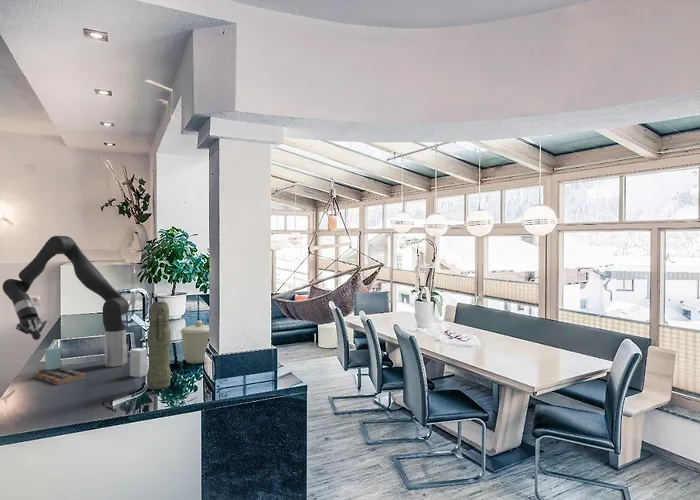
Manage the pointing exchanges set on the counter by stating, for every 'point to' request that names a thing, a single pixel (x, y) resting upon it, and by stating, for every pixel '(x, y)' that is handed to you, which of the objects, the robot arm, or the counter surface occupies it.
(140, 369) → the skincare box
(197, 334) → the canister
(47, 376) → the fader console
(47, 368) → the fader tab
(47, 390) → the counter surface
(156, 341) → the thermos
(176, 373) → the counter surface
